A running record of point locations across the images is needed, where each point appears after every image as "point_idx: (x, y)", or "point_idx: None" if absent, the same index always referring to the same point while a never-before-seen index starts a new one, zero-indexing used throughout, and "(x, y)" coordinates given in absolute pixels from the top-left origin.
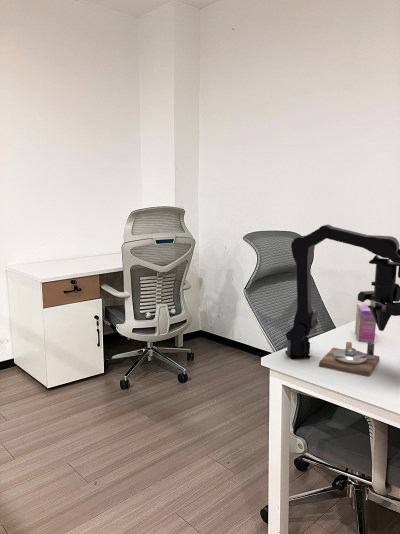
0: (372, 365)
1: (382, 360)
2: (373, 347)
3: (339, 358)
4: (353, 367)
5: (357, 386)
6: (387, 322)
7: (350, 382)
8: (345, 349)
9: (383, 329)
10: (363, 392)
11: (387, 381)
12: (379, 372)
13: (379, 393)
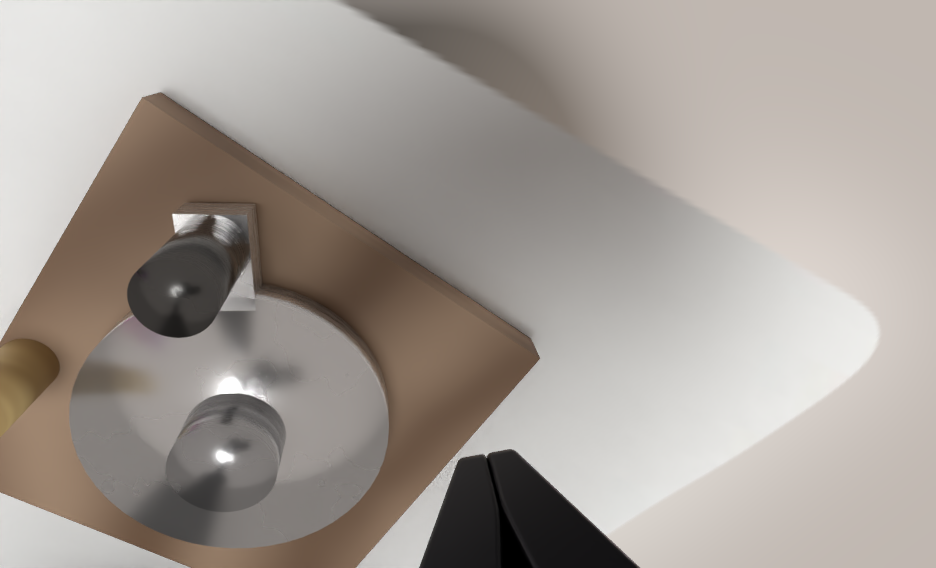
0: (408, 281)
1: (149, 50)
2: (221, 265)
3: (318, 526)
4: (437, 437)
5: (656, 456)
6: (633, 562)
7: (594, 476)
8: (224, 511)
9: (526, 473)
10: (738, 450)
11: (631, 239)
12: (457, 223)
13: (779, 370)
